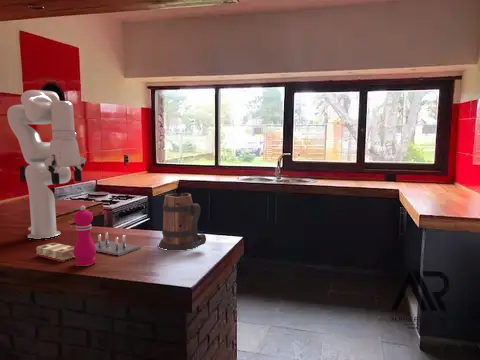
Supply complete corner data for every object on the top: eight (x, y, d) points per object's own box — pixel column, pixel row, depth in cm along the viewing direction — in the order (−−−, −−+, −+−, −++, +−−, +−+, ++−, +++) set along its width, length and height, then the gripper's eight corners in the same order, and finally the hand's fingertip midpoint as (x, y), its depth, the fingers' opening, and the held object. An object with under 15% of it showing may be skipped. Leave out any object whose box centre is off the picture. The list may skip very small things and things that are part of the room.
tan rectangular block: (36, 256, 143) (36, 247, 143) (53, 251, 149) (52, 242, 148) (62, 262, 136) (62, 252, 136) (78, 257, 142) (78, 247, 142)
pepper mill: (99, 260, 138) (97, 203, 136) (92, 267, 131) (89, 207, 129) (78, 260, 138) (75, 203, 136) (70, 267, 131) (67, 207, 128)
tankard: (148, 245, 157) (147, 194, 155) (183, 236, 169) (181, 190, 167) (186, 257, 141) (184, 201, 139) (220, 247, 153) (220, 196, 151)
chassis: (83, 249, 151) (83, 235, 151) (106, 242, 161) (105, 229, 160) (118, 256, 143) (118, 241, 142) (140, 248, 152) (139, 234, 151)
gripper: (76, 136, 154) (79, 180, 156) (35, 136, 139) (39, 185, 140) (90, 135, 151) (93, 180, 152) (50, 135, 136) (53, 185, 137)
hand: (67, 182), depth 146 cm, fingers open, 9 cm apart
